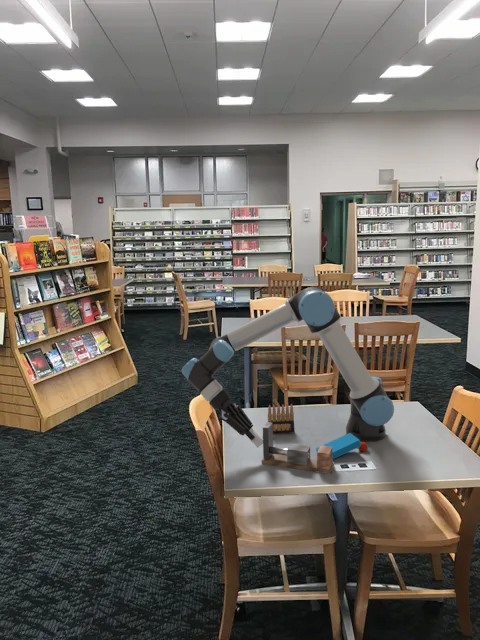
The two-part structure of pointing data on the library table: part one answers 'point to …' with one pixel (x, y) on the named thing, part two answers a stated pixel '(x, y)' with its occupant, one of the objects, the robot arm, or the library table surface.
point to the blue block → (345, 445)
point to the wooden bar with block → (303, 459)
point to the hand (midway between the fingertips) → (260, 444)
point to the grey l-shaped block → (271, 443)
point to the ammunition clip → (281, 419)
